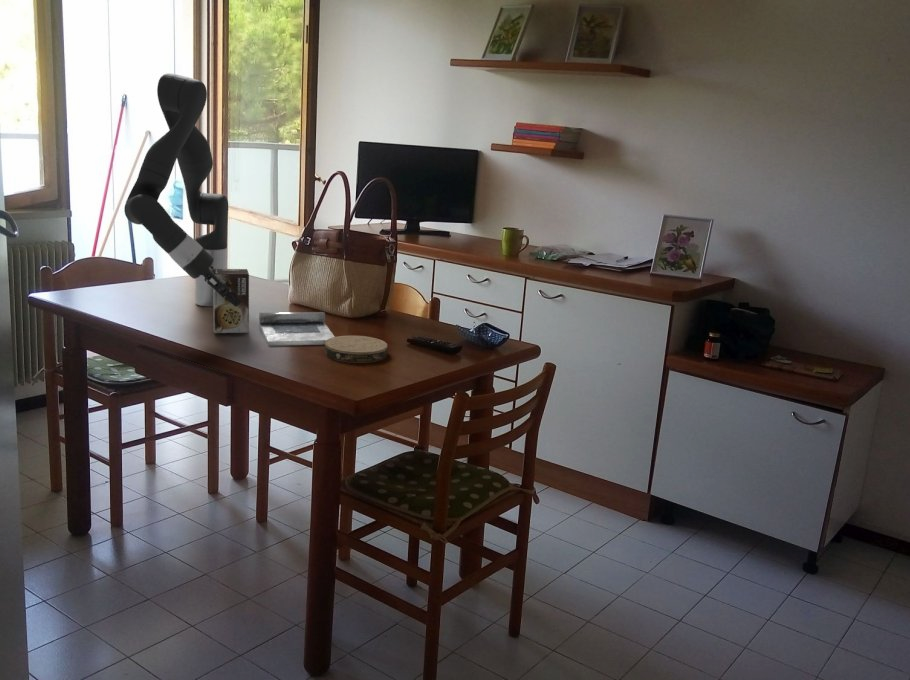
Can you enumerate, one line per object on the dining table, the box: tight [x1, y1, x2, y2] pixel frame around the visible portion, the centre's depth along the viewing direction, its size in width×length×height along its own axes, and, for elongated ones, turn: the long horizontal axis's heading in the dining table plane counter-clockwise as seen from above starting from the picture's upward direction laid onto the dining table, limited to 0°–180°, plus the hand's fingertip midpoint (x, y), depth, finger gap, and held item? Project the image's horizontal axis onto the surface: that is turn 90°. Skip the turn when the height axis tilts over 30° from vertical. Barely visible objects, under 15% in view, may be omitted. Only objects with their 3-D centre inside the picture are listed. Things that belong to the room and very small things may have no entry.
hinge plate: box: [258, 311, 336, 347], centre depth 226 cm, size 20×18×4 cm
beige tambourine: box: [324, 335, 388, 364], centre depth 213 cm, size 16×16×3 cm
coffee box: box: [212, 268, 250, 334], centre depth 221 cm, size 9×6×16 cm
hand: (237, 300), depth 221 cm, fingers closed on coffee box, 6 cm apart
